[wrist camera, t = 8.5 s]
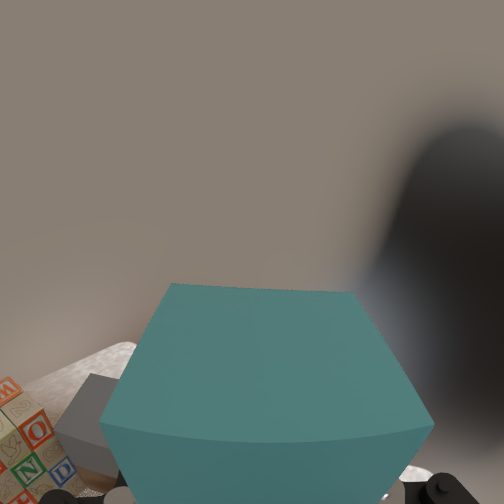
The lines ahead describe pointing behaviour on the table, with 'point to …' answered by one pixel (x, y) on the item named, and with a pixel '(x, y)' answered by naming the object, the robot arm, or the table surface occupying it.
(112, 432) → the teal pillar
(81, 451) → the tower top block
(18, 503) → the stack of blocks
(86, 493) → the table surface
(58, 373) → the table surface
